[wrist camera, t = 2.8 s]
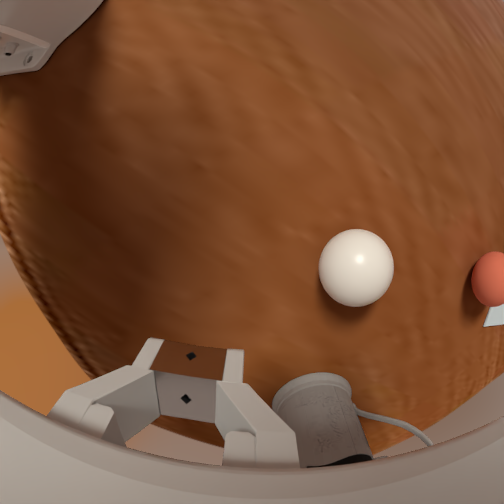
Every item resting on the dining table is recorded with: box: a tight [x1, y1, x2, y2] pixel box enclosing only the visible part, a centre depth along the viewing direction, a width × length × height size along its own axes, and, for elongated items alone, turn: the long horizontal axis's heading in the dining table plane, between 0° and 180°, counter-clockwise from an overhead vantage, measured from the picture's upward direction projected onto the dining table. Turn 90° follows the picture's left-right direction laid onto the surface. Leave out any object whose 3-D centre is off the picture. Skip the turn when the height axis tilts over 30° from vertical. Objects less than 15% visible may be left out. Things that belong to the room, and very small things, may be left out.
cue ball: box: [319, 229, 394, 307], centre depth 19 cm, size 6×6×6 cm
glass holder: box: [272, 373, 434, 468], centre depth 19 cm, size 9×14×15 cm, turn 99°
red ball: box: [471, 252, 504, 307], centre depth 20 cm, size 6×6×6 cm
